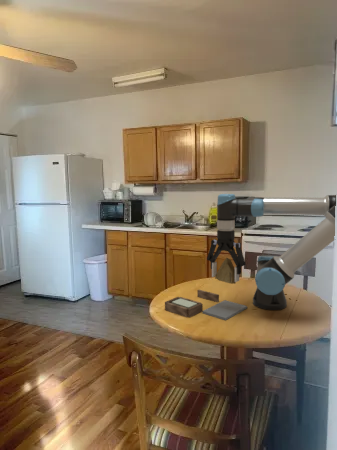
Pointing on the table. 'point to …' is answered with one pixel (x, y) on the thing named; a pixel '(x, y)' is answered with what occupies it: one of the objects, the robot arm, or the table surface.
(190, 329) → the table surface
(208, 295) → the brown frame and bar
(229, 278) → the rock
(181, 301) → the pale grey-green block
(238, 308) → the board
